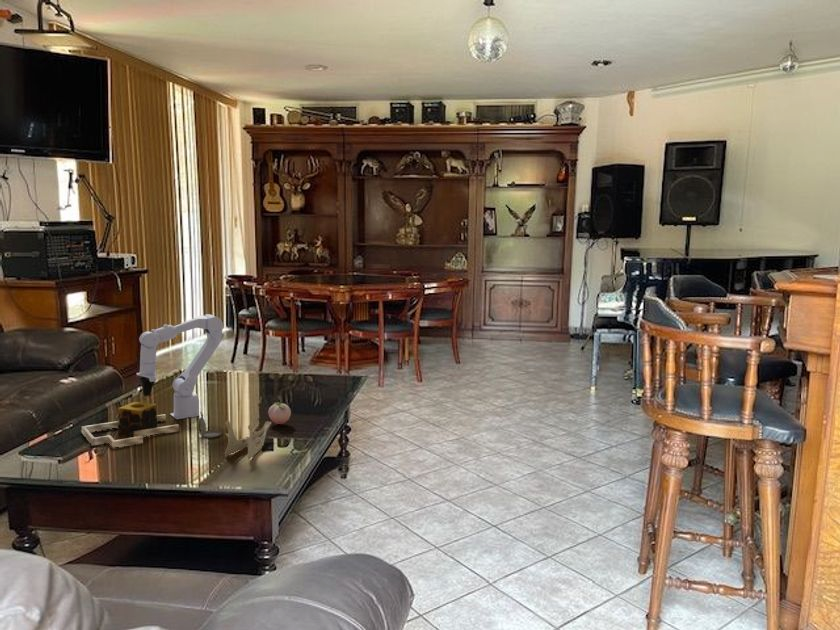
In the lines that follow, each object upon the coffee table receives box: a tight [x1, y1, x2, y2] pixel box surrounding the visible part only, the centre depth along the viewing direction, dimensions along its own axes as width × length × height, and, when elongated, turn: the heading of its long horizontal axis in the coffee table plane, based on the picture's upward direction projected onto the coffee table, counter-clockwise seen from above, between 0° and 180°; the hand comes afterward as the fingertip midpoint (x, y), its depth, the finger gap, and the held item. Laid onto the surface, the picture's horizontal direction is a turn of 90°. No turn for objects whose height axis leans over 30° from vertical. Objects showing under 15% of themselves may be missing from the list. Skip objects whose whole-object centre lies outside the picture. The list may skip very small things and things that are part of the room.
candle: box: [117, 401, 158, 436], centre depth 230 cm, size 10×10×10 cm
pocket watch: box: [197, 411, 221, 439], centre depth 229 cm, size 8×8×10 cm
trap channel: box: [81, 413, 180, 449], centre depth 229 cm, size 30×29×2 cm
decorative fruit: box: [267, 401, 292, 425], centre depth 246 cm, size 9×8×10 cm
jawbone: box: [224, 420, 273, 460], centre depth 219 cm, size 25×10×14 cm, turn 167°
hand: (146, 395), depth 242 cm, fingers closed
